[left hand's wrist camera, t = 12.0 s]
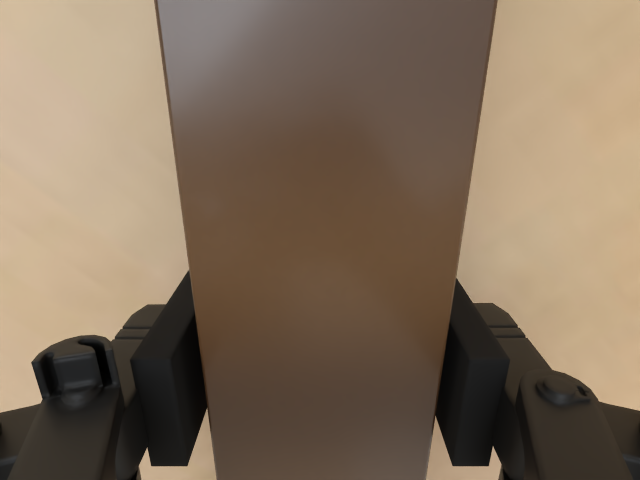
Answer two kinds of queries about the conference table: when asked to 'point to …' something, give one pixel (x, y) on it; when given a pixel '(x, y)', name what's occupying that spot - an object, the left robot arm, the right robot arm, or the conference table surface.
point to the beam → (323, 220)
